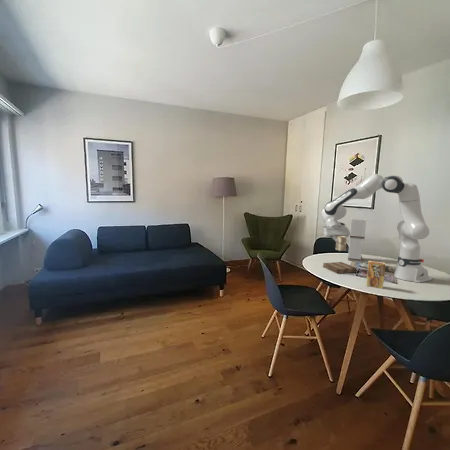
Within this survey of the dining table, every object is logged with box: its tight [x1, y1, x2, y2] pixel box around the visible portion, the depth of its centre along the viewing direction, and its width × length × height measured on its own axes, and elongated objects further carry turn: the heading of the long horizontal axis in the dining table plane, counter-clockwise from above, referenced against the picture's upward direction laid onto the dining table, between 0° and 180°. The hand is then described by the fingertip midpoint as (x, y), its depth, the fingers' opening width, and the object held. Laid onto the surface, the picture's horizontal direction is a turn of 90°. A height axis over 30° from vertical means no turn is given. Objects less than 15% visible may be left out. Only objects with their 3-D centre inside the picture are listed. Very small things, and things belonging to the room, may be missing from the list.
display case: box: [347, 217, 367, 263], centre depth 217 cm, size 11×11×35 cm
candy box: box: [366, 260, 386, 289], centre depth 158 cm, size 9×4×15 cm, turn 62°
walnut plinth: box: [322, 261, 357, 274], centre depth 191 cm, size 16×16×3 cm
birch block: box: [335, 236, 348, 252], centre depth 189 cm, size 5×5×10 cm
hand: (340, 241), depth 189 cm, fingers closed on birch block, 5 cm apart
